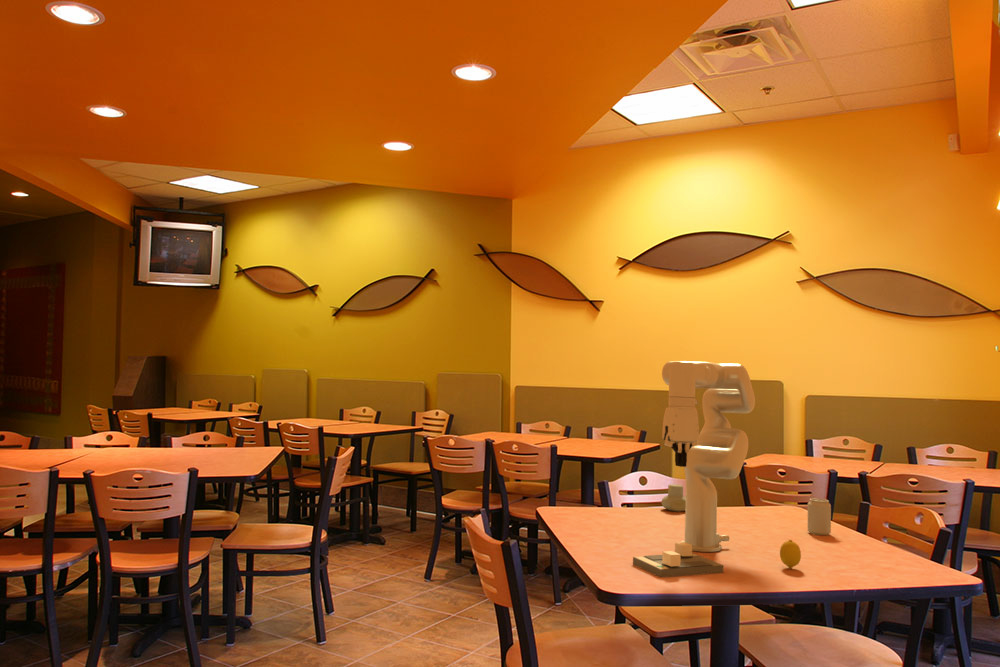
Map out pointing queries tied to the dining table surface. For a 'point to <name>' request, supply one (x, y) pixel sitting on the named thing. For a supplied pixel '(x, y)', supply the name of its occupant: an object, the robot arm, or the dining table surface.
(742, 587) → the dining table surface
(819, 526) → the can
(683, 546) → the switch tab
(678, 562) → the switch tab
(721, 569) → the switch panel
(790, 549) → the lemon
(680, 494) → the air freshener
